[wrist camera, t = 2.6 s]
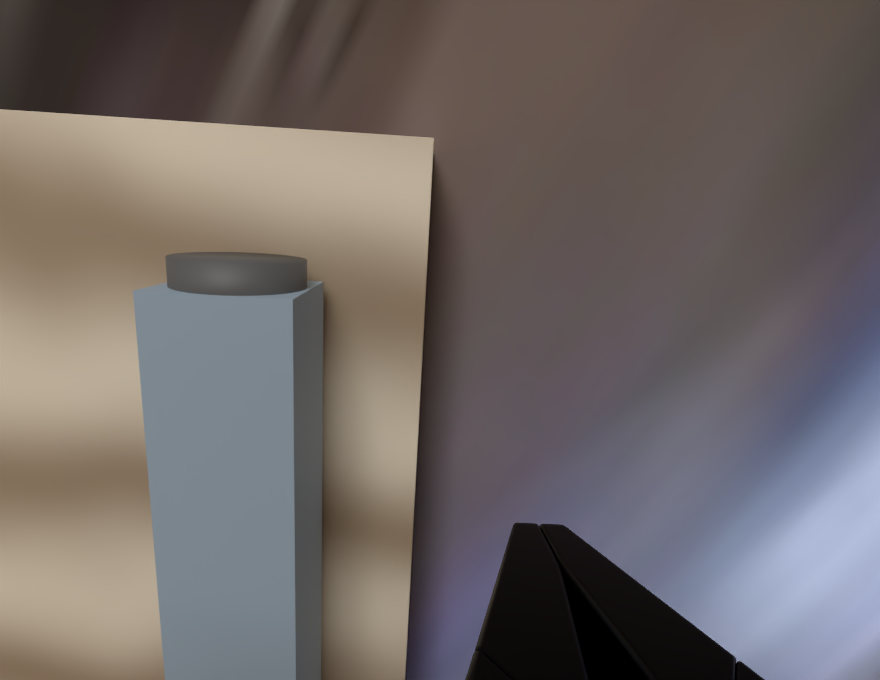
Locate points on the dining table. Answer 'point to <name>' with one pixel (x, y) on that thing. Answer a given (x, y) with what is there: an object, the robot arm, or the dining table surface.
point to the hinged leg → (235, 463)
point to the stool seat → (118, 376)
